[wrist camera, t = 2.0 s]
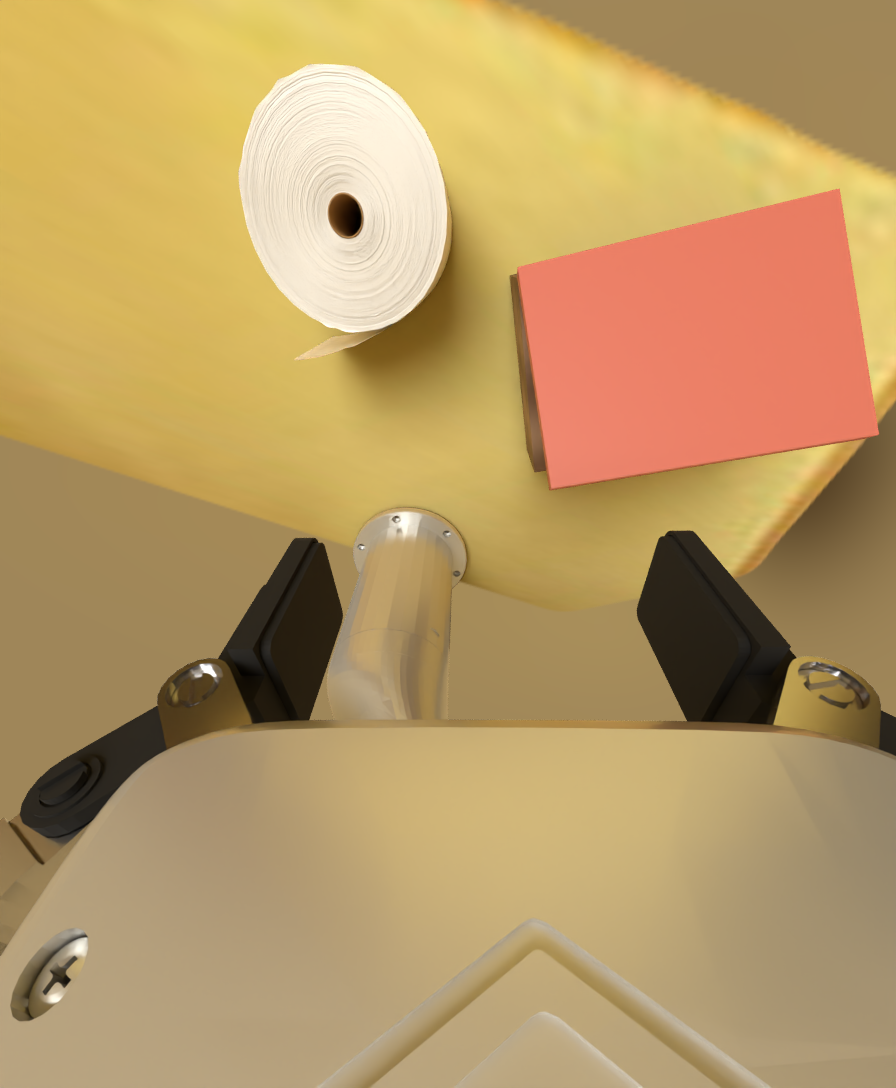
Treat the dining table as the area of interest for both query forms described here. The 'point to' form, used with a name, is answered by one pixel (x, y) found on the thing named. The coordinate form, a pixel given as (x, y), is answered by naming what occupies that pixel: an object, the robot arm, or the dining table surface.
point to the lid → (698, 345)
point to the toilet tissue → (344, 201)
